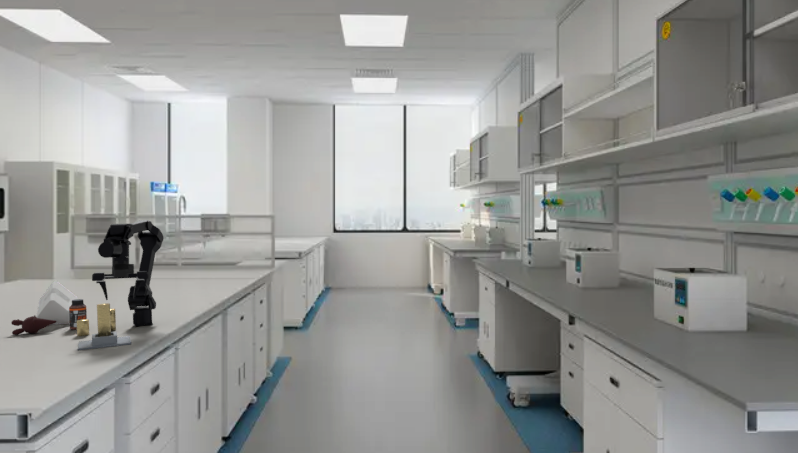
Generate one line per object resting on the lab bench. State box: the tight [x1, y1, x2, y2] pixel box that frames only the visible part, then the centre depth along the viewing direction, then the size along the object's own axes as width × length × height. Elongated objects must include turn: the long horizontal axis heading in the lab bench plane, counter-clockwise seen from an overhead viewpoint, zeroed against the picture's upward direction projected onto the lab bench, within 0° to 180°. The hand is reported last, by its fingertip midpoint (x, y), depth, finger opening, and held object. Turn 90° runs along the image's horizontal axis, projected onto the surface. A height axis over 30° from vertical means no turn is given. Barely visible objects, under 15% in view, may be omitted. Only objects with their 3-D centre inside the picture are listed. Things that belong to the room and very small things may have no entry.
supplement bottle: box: [69, 298, 88, 331], centre depth 228 cm, size 6×6×11 cm
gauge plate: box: [77, 331, 132, 351], centre depth 200 cm, size 16×12×3 cm
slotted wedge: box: [35, 280, 79, 326], centre depth 239 cm, size 14×11×18 cm
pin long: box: [96, 302, 112, 337], centre depth 200 cm, size 4×4×13 cm
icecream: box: [11, 314, 57, 336], centre depth 221 cm, size 7×7×15 cm
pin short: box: [76, 318, 90, 337], centre depth 215 cm, size 4×4×6 cm
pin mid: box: [110, 308, 117, 332], centre depth 223 cm, size 4×4×8 cm
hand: (120, 299), depth 216 cm, fingers open, 9 cm apart
